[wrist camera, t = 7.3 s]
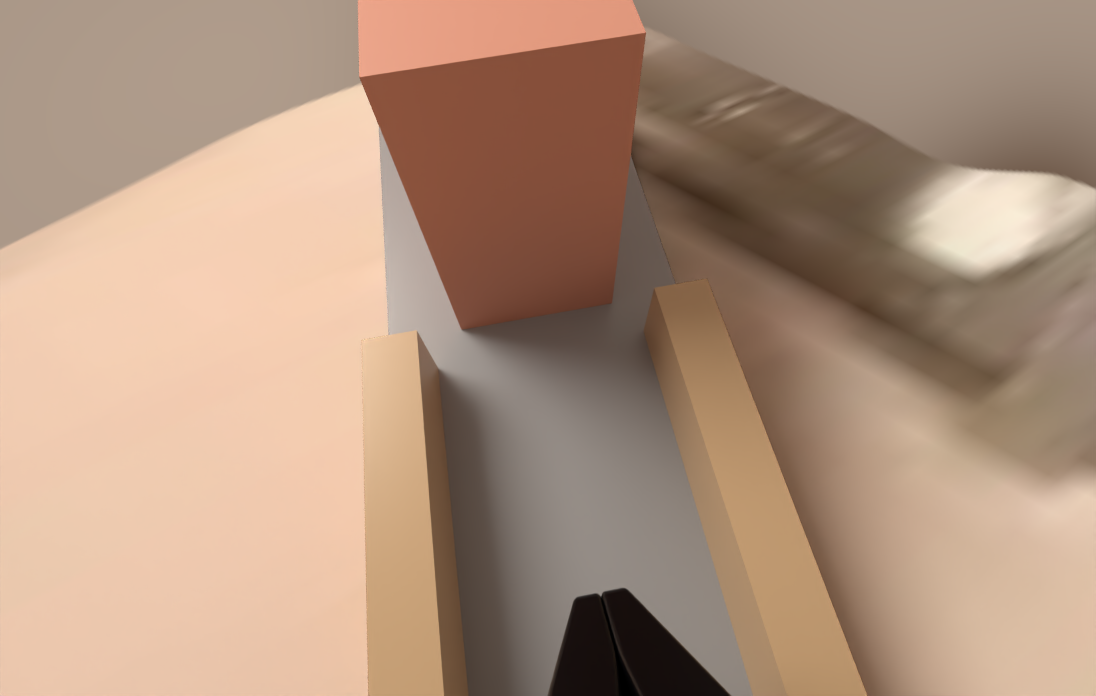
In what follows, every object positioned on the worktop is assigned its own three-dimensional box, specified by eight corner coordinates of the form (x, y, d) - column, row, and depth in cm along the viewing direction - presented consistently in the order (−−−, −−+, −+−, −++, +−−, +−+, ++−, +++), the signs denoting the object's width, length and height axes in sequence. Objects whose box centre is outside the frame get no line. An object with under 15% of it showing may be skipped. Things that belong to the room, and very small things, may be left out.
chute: (861, 844, 11) (953, 920, 9) (425, 942, 11) (375, 1055, 8) (598, 77, 23) (602, 5, 20) (382, 112, 23) (355, 43, 20)
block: (611, 303, 17) (645, 32, 9) (461, 329, 17) (359, 77, 9) (561, 117, 21) (553, -185, 13) (439, 136, 21) (354, -157, 13)
